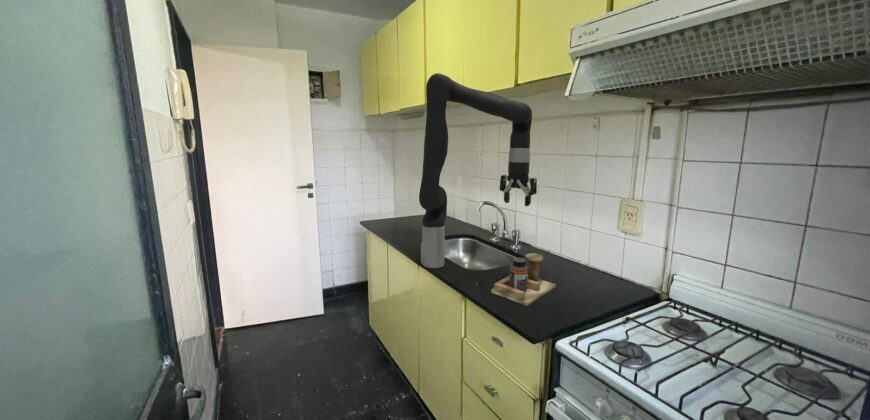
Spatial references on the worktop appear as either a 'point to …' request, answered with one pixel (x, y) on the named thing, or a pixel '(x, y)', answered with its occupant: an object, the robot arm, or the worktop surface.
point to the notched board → (532, 293)
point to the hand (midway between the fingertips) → (516, 204)
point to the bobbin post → (534, 266)
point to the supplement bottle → (518, 274)
